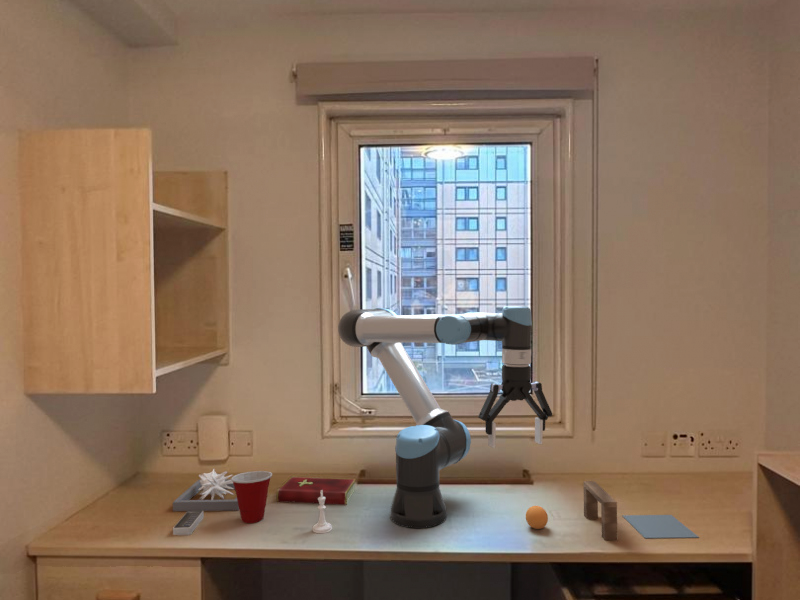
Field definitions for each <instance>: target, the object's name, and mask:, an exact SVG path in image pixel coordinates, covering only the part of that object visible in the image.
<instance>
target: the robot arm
mask: <svg viewBox="0 0 800 600" xmlns="http://www.w3.org/2000/svg"><path fill="white" fill-rule="evenodd" d="M532 326H533V322H532V309H531V308H530V307H528V306H521V305H520V306H519V305H518V306H516V305H515V306H514V305H513V306H511V305H508V306H507V305H505V306H503V308H502V310H501V313H500V312H499V313H496V312H495V313H494V312H493V313H492V312H479V311H472V312H470V311H469V312H466V313H449V314H448V313H446V314H411V315H410V314H407V315H406V314H405V315H402V314H399V315H397V313H395V312H394V311H393V310H391V309H388V308H381V307H378V308H367V309H366V308H365V309H363V308H362V309H352V310H349V311H347V312H346V313H344V314H343V315H342V316H341V318H340V319H339V322H338V326H337V330H338V331H337V332H338V335H339V338H340V340H341V341H342V342H343V343H345V345H347V346H350V347H352V348H354V347H355V348H361V347H366V348H367V351H368V352H369V354H370V355H371V357H374V358H377V359H378V360H379V361H380V364H381V365H382V366H383V368H384V369H385V372H386V374H387V375H388V377H389V379H390V380H391V383H392V384H393V386H394V388H395V389H396V391H397V393H398V394H399V396H400V398H401V400H402V401H403V403H404V405H405V407H406V408H407V410H408V411H409V413H410V415H411V416H412V417H411V418H412V419H413V421H414V422H415V424H416V425H414V426H413V425H412V426H408V427H405V428H402V429H401V430H400V431H399V432H398V434H397V435H396V438H395V446H394V447H395V464H396V465H395V468H396V469H395V471H396V488H395V492H394V496H393V498H392V503H391V505H390V519H391V521H392V522H393V523H395V524H397V525H398V526H400V527H406V528H412V529H423V528H432V527H436V526H438V525H440V524H442V523H444V522H445V521H446V519H447V507H446V504H445V503H446V502H445V500H444V497H443V493H442V492H441V488H440V471H441V470H443V469H444V468H447V467H449V466H451V465H455V464H457V463H458V462H460V461H461V460H462V459H464V458H465V457H466V456H467V455H468V454H469V451H470V449H471V444H472V441H471V440H472V438H471V434H470V431H469V429H468V427H467V426H466V425H465V423H464V422H462V421H459V420H456V419H454V418H453V416H452V414H451V413H450V412H449V410H446V409H442V408H441V407H440V405H439V403H438V401H437V400H436V398H435V397H434V395H433V393H432V392H431V390H430V388H429V387H428V385H427V384H426V382H425V380H424V379H423V377H422V375H421V373H420V372H419V370H418V368H417V367H416V365H415V363H414V362H413V360H412V359H411V357H410V355H409V354H408V352H407V351H406V348H405V347H404V345H403V343H413V344H414V343H422V344H423V343H426V344H427V343H428V344H429V343H430V344H439V343H440V344H446V345H452V346H453V345H455V346H456V345H460V344H465V343H473V342H480V341H494V342H495V341H496V342H501V345H502V346H501V348H502V349H501V363H502V364H503V365H502V366H501V380H502V382H501V384H499V383H493V382H492V383H490V386H489V387H490V388H489V393H488V395H487V397H486V399H485V401H484V403H483V405H482V407H481V410H480V412H479V414H478V419H480V420H482V421H484V422H485V434H486V435H487V436H488V446H489V447H491V448H492V449H496V434H497V433H496V428H497V427H496V426H497V424H496V422H495V421H494V420H495V419H496V418H497V416H498V415H499V413H500V412H501V411H502V410H503V409H504V408H505V406H506V404H508V403H509V402H510V401H512V402H515V401H524V400H525V402H526V403H527V404H528V405H529V407H530V408H531V409H532V411H533V412H534V414H535V415H536V416H537V417H534V442H535V443H537V445H543V439H544V438H543V435H544V434H543V433H544V431H546V421H547V420H548V418H550V417H552V416H553V412H552V410H551V408H550V406H549V403H548V401H547V398H546V397H545V394H544V392H543V386H542V383H541V382H539V381H533V382H531V379H532V367H531V366H530V364H531V363H532V328H533V327H532ZM531 390H532V391H534V392H533V393H534V394H535V396H536V399H537V401H538V403H537V402H536V401H535V400H534V398H533V397H532V395H531V394H530V391H531ZM500 392H502V393H501V394H500V396H499V397H498V395H499V393H500ZM497 398H499V399H498V400H496V399H497ZM495 401H496V402H495ZM494 403H495V404H494ZM538 404H539V405H538Z"/></svg>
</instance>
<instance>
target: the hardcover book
mask: <svg viewBox="0 0 800 600" xmlns="http://www.w3.org/2000/svg"><path fill="white" fill-rule="evenodd" d="M356 481H357V479H356V478H339V477H316V476H312V477H311V476H290V477H289V478H288V479H287V480H286V481H285V482H284V483H283V484H282V485H280V487H278V489H277V490H276V502H278V503H298V504H319V501H318V498H319V497H321V494H320V492H321V490H323V496H324V497H325V498H326V499H325V503H324V505H341V506H342V505H343V506H347V505H348V502H349V500H350V498H351V496H352V495H353V494H354V492H355V487H356V486H355V485H356V484H355V482H356ZM319 505H320V504H319Z"/></svg>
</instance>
